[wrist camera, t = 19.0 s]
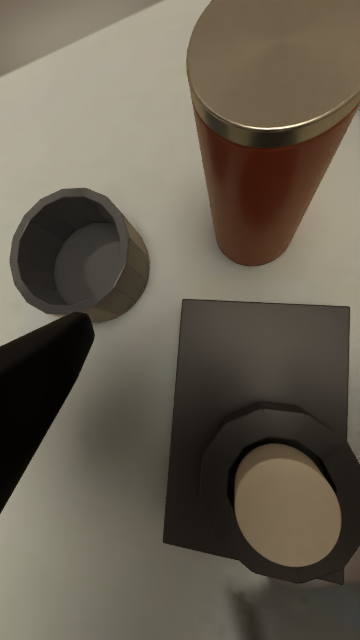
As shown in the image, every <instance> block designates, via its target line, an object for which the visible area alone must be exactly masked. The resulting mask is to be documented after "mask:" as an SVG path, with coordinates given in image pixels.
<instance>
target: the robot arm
mask: <svg viewBox="0 0 360 640" xmlns="http://www.w3.org/2000/svg"><path fill="white" fill-rule="evenodd" d="M94 337H95V334H94V330H93V326H92V323H91V319H90V316H89V315H88V314H87V313H83V312H72V313H70V314H68V315H66V316H64V317H62V318H60V319H58V320H55V321H53V322H51V323H49V324H47V325H45V326H43V327H41V328H39V329H36V330H34V331H32V332H30V333H28V334H26V335H24V336H22V337H19V338H17V339H15V340H13V341H11V342H9V343H7V344H5V345H3V346H0V513H1V512H2V510H3V508H4V506H5V505H6V503H7V501H8V499H9V498H10V496H11V494H12V492H13V491H14V489H15V487H16V485H17V484H18V482H19V480H20V478H21V477H22V475H23V473H24V471H25V470H26V468H27V466H28V464H29V463H30V461H31V459H32V457H33V456H34V454H35V452H36V450H37V449H38V447H39V445H40V444H41V442H42V440H43V438H44V437H45V435H46V433H47V431H48V430H49V428H50V426H51V424H52V423H53V421H54V419H55V417H56V416H57V414H58V412H59V410H60V409H61V407H62V405H63V403H64V402H65V400H66V398H67V396H68V395H69V393H70V391H71V389H72V387H73V386H74V384H75V382H76V380H77V378H78V376H79V373H80V371H81V369H82V366H83V364H84V362H85V360H86V357H87V355H88V353H89V350H90V348H91V346H92V344H93V341H94Z"/></svg>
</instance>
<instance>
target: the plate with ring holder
mask: <svg viewBox="0 0 360 640" xmlns="http://www.w3.org/2000/svg"><path fill="white" fill-rule="evenodd" d="M349 331H350V307H349V306H327V305H305V304H283V303H261V302H239V301H217V300H195V299H183V300H182V311H181V323H180V335H179V348H178V360H177V372H176V384H175V397H174V409H173V421H172V434H171V446H170V458H169V471H168V483H167V495H166V508H165V520H164V532H163V543H166V544H170V545H175V546H179V547H183V548H187V549H192V550H196V551H200V552H204V553H209V554H213V555H217V556H222V557H226V558H230V559H234V560H239V561H240V562H241V563H242V564H244V565H245V566H246V567H247V568H248V569H249V570H251V571H252V572H254V573H255V574H260V575H264V576H268V577H272V578H276V579H281V580H285V581H289V582H293V583H297V584H299V582H300V583H304V582H307V581H310V580H313V579H320V580H324V581H328V582H333V583H337V584H341V585H343V584H344V567H345V565H346V564H347V563H348V561H349V560H350V559H351V557H352V556H353V554H354V553H355V552H356V550H357V549H358V547H359V546H360V464H359V462H358V461H357V459H356V457H355V455H354V453H353V451H352V450H351V448H350V446H349V444H348V442H347V419H348V375H349ZM273 443H277V444H284V445H288V446H291V447H294V448H296V449H298V450H300V451H301V452H303V453H304V454H305V455H307V456H308V457H309V458H310V459H311V460H312V461H313V462H314V463H315V465H316V466H317V467H318V469H319V470H320V472H321V473H322V474H323V476H324V477H325V479H326V480H327V482H328V483H329V484H330V486H331V488H332V489H333V491H334V493H335V495H336V497H337V499H338V503H339V506H340V511H341V530H340V534H339V537H338V540H337V542H336V544H335V546H334V547H333V549H332V550H331V551H330V553H329V554H328V555H327V556H325V557H324V558H323V559H321V560H320V561H318V562H316V563H314V564H311V565H308V566H302V567H289V566H284V565H280V564H277V563H275V562H272V561H270V560H268V559H267V558H265V557H263V556H262V555H261V554H259V553H258V552H257V551H256V550H255V549H254V548H253V547H252V546H251V545H250V544H249V542H248V541H247V540H246V538H245V537H244V535H243V533H242V532H241V530H240V527H239V525H238V522H237V519H236V514H235V475H236V472H237V469H238V466H239V464H240V462H241V461H242V459H243V458H244V457H245V456H246V455H247V454H248V453H249V452H250V451H252V450H253V449H255V448H257V447H259V446H262V445H265V444H273Z"/></svg>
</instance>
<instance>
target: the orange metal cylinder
mask: <svg viewBox="0 0 360 640" xmlns="http://www.w3.org/2000/svg"><path fill="white" fill-rule="evenodd" d="M186 66H187V76H188V82H189V87H190V93H191V99H192V104H193V110H194V116H195V122H196V127H197V133H198V139H199V144H200V150H201V156H202V161H203V167H204V173H205V178H206V184H207V190H208V196H209V201H210V207H211V213H212V218H213V224H214V230H215V235H216V240H217V243H218V246H219V248H220V249H221V251H222V252H223V253H224V254H225V255H226V256H227V257H228V258H229V259H231V260H232V261H234V262H236V263H239V264H242V265H247V266H257V265H263V264H266V263H269V262H271V261H273V260H275V259H276V258H278V257H279V256H280V255H281V254H282V253H283V252H284V251H285V250H286V249H287V247H288V246H289V244H290V242H291V240H292V238H293V236H294V234H295V232H296V230H297V228H298V226H299V224H300V222H301V220H302V218H303V216H304V214H305V212H306V210H307V208H308V206H309V204H310V202H311V200H312V198H313V196H314V194H315V192H316V190H317V188H318V186H319V184H320V182H321V180H322V178H323V176H324V174H325V172H326V170H327V168H328V167H329V165H330V163H331V161H332V159H333V157H334V155H335V153H336V151H337V149H338V147H339V145H340V143H341V141H342V139H343V137H344V135H345V133H346V131H347V129H348V127H349V125H350V123H351V121H352V119H353V117H354V115H355V113H356V111H357V109H358V107H359V105H360V0H212V1H211V2H210V4H209V5H208V6H207V7H206V9H205V10H204V12H203V13H202V14H201V16H200V18H199V19H198V21H197V23H196V25H195V27H194V30H193V32H192V35H191V38H190V42H189V46H188V50H187V59H186Z"/></svg>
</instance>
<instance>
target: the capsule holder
mask: <svg viewBox="0 0 360 640" xmlns="http://www.w3.org/2000/svg"><path fill="white" fill-rule="evenodd" d="M10 267H11V271H12V276H13V281H14V284H15V286H16V287H17V289H18V290H19V292H20V293H21V294H22V296H23V297H24V299H25V300H26V302H28V303H29V304H30V305H32V306H34V307H36V308H37V309H39V310H41V311H43V312H44V313H46V314H50V315H55V316H60V317H64V316H66V315H68V314H70V313H72V312H83V313H87V314H88V315H89V316H90V319H91V322H101V321H107V320H110V319H113V318H115V317H118V316H120V315H121V314H123V313H125V312H126V311H127V310H128V309H130V308H131V307H132V306H133V305H134V304H135V303H136V301H137V300H138V299H139V297H140V296H141V294H142V292H143V290H144V288H145V286H146V283H147V279H148V275H149V256H148V251H147V248H146V246H145V243H144V241H143V239H142V238H141V236H140V235H139V233H138V232H137V231H136V230H135V229H134V227H133V226H132V225H131V224H130V223H129V221H128V220H127V219H126V218H125V217H124V215H123V214H122V213H121V212H120V211H119V210H118V208H117V207H116V206H115V205H114V204H113V203H112V202H111V201H110V199H109V198H108V197H106V196H104V195H102V194H99V193H97V192H95V191H92V190H90V189H87V188H71V189H61V190H59V191H57V192H55V193H53V194H51V195H48V196H46V197H44V198H42V199H40V200H39V201H38V202H37V203H36V204H35V205H34V206H33V207H32V208H31V209H30V210H29V211H28V212H27V213H26V214H25V215H24V217H23V219H22V221H21V222H20V224H19V226H18V228H17V230H16V232H15V234H14V236H13V240H12V247H11V254H10Z"/></svg>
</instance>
